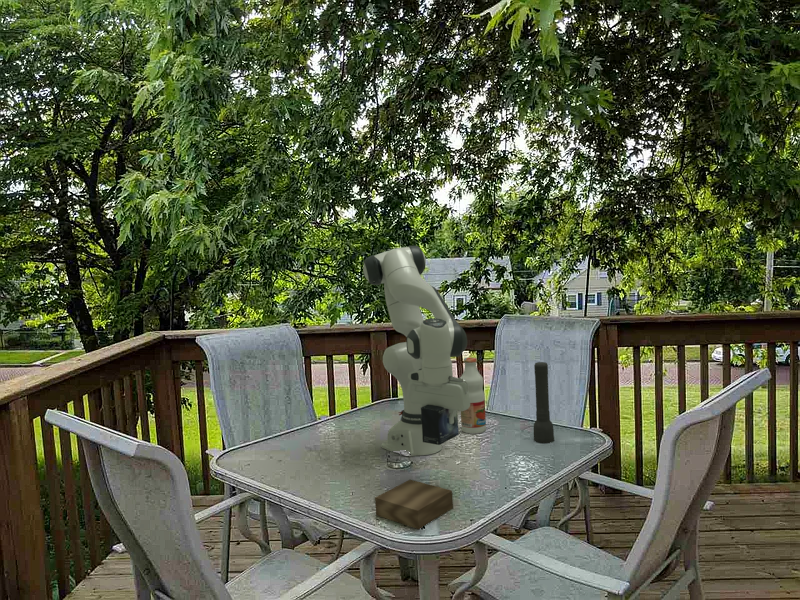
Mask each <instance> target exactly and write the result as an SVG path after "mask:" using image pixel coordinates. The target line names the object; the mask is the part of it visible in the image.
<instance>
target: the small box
mask: <svg viewBox="0 0 800 600" xmlns="http://www.w3.org/2000/svg"><path fill="white" fill-rule="evenodd" d="M449 416H450V413H449V409H445V408H444V407H440V406H435V405H426V406H423V407H421V419H422V435H423V436H422V437H423V442H425V443H431V444H436V445H443V444H444V443H446V442H448V441H450V440H451V439H454V438H455V437H457V436H459V435H460V433H459V432H460V431H459V419H458V412H457V413H456V415H455V417H454V423H453V424H448V423H447V418H448V417H449Z"/></svg>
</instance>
